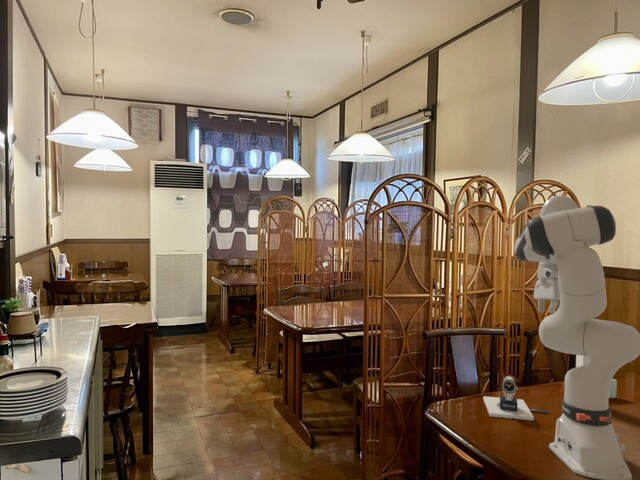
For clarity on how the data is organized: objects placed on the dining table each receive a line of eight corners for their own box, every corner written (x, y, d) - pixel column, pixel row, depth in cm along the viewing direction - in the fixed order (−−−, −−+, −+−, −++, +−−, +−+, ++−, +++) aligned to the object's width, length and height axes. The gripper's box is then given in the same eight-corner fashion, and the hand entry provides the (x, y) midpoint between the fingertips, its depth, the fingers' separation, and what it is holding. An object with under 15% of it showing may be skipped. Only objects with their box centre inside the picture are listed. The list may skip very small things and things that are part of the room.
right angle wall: (616, 399, 175) (616, 380, 175) (587, 400, 173) (588, 380, 173) (593, 388, 187) (594, 370, 187) (566, 389, 185) (567, 371, 185)
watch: (500, 411, 157) (500, 379, 157) (499, 403, 164) (500, 373, 164) (517, 413, 155) (518, 382, 155) (516, 405, 162) (517, 375, 162)
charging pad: (555, 422, 151) (555, 418, 151) (490, 416, 156) (490, 412, 156) (542, 404, 167) (542, 401, 167) (483, 399, 171) (483, 396, 171)
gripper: (531, 275, 178) (527, 310, 176) (553, 272, 157) (548, 311, 156) (548, 277, 177) (544, 312, 175) (572, 275, 157) (567, 314, 155)
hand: (546, 312), depth 165 cm, fingers open, 8 cm apart
